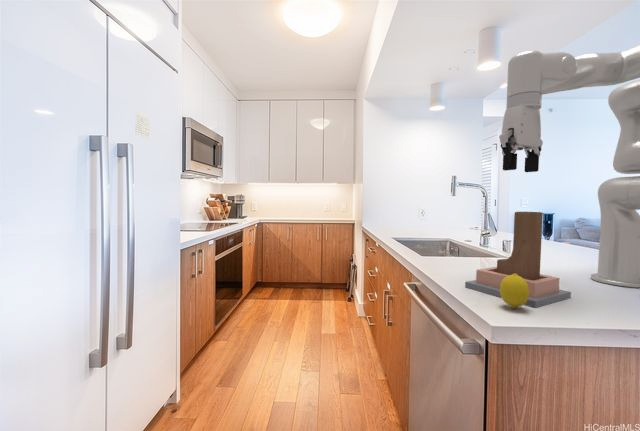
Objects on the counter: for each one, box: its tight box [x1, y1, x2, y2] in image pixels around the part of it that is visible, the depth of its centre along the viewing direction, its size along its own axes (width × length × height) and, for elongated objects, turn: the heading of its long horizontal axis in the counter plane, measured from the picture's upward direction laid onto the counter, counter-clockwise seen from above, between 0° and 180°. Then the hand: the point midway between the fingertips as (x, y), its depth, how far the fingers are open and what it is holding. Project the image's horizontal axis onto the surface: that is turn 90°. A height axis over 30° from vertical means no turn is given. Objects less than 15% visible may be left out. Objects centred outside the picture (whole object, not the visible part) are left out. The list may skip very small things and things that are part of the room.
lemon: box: [500, 274, 529, 309], centre depth 68 cm, size 6×6×8 cm
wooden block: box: [496, 211, 544, 281], centre depth 80 cm, size 9×4×18 cm, turn 20°
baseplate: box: [464, 266, 572, 308], centre depth 80 cm, size 16×18×5 cm
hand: (520, 171), depth 79 cm, fingers open, 9 cm apart
